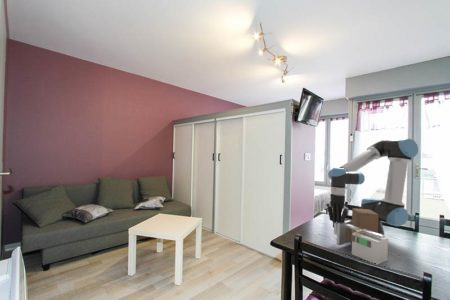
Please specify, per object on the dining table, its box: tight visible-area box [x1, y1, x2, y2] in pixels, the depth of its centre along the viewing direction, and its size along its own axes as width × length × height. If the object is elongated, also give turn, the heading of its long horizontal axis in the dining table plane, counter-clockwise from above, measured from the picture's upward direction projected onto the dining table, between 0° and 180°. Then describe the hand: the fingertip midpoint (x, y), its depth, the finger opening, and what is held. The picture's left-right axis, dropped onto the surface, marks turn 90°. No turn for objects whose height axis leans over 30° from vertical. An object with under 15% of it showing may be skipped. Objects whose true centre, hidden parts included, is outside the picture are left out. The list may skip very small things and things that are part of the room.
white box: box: [351, 232, 389, 265], centre depth 108 cm, size 10×12×11 cm
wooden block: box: [351, 207, 378, 242], centre depth 122 cm, size 10×10×20 cm
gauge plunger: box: [336, 219, 385, 246], centre depth 111 cm, size 13×20×12 cm, turn 30°
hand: (336, 234), depth 123 cm, fingers closed
